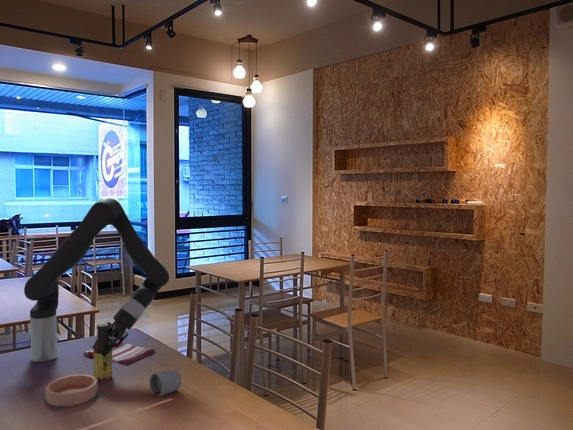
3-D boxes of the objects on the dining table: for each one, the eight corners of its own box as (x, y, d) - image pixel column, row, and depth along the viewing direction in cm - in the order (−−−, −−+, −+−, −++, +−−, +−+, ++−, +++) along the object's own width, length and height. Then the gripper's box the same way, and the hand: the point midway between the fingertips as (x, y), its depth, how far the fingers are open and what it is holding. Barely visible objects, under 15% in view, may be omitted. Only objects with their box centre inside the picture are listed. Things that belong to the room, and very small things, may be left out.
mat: (40, 396, 155) (40, 395, 155) (87, 383, 165) (87, 382, 165) (55, 413, 144) (55, 411, 144) (104, 398, 154) (104, 396, 154)
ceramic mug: (182, 392, 159) (182, 369, 159) (161, 400, 153) (161, 377, 153) (164, 383, 166) (164, 362, 166) (143, 391, 160) (143, 368, 160)
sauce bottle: (106, 384, 164) (104, 328, 163) (89, 382, 166) (88, 327, 164) (116, 377, 171) (115, 322, 170) (100, 375, 172) (99, 321, 171)
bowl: (40, 395, 155) (39, 383, 154) (87, 382, 165) (86, 370, 165) (55, 411, 144) (54, 398, 143) (104, 396, 154) (104, 384, 154)
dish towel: (124, 367, 181) (124, 360, 181) (82, 356, 192) (81, 350, 191) (155, 353, 196) (155, 347, 196) (114, 344, 207) (114, 338, 207)
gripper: (114, 303, 177) (82, 341, 170) (131, 311, 166) (98, 352, 159) (128, 315, 181) (97, 352, 174) (145, 323, 170) (114, 363, 163)
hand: (98, 352), depth 167 cm, fingers open, 7 cm apart
